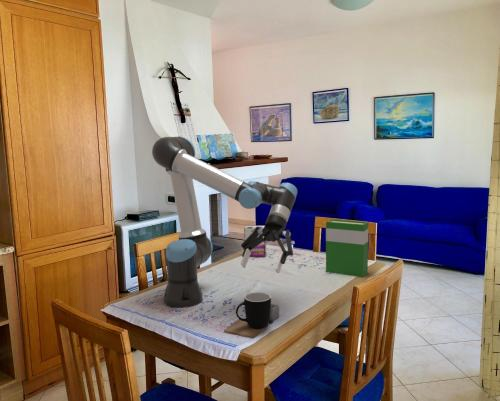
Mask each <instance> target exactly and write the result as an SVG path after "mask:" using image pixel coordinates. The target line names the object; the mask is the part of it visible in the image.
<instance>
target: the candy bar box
mask: <svg viewBox="0 0 500 401" xmlns="http://www.w3.org/2000/svg"><path fill="white" fill-rule="evenodd" d="M256 227H259V228H261V229H263V228H264V227H265V225H245V226H244V227H243V228H244V229H243V230H244V232H243V233H244V241H245V240H246V239H247V238H248V237H249V236H250V235H251V234H252V233H253V232H254V231H255V229H256ZM261 234H262V233H261ZM259 235H260V234H259ZM258 237H259V236H258ZM263 238H264V236H263ZM250 252H251V254H250V257H249V258H266V257H267V240H266V241H265V242H262V243H260V244H259V245H258V246H256V247H255V248H253V249H252V250H250Z"/></svg>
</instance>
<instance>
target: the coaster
mask: <svg viewBox="0 0 500 401" xmlns="http://www.w3.org/2000/svg"><path fill="white" fill-rule="evenodd" d="M268 326H269V324H268V325H267V327H268ZM267 327H265V328H263V329H253V328H251V327H249V325H248V323H247V322H245V321H241V320H240V319H238V318H237V320H235V321H234V322H233V323H231V324H230V325H229V326H227V328H225V329H224V330H223V332H224V333H226V334H227V333H228V334H232V335H236V336H241V337H244V338H250V339H254V338H256V337H257V336H258V335H260V333H261V332H262V331H264V330H265V329H266V328H267Z"/></svg>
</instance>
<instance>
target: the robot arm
mask: <svg viewBox="0 0 500 401" xmlns="http://www.w3.org/2000/svg"><path fill="white" fill-rule="evenodd" d="M151 155H152V158H153V160H154V161H155V163H156V164H157V165H159V166H160V167H162V168H164V169H165V172H166V173H167V174H168V175H170V180H171V183H172V191H173V195H174V201H175V205H176V211H177V212H176V213H177V216H178V221H179V222H178V223H179V225H180V226H179V228H180V233H179V235H178V237H177V238H178V239H177V240H173V241H172V242H170V243H168V245H166V248H165V250H166V252H165V258H166V261H165V262H166V275H167V283H166V286H165V287H166V288H165V290H164V295H163V302H164V305H167V306H168V307H171V308H188V307H192V306H196V305H199V304H200V303H201V302H202V301H203V298H204V297H203V291H202V290H201V287H200V284H199V282H198V267H199V266H201V265H202V264H204V263H206V262H207V261H208V260H209V258H210V257H211V256H212V253H213V250H214V249H213V243H212V240H211V239H210V238H209V237H208V236H207V232H206V230H205V229H203V228H202V224H201V219H200V218H201V217H200V213H199V212H200V211H199V206H198V201H197V196H196V192H195V186H194V181H193V180H195V181H197V182H199V183H201V184H202V185H205V186H207V187H208V188H211V189H213V190H214V191H217V192H218V193H221V194H223V195H225V196H226V197H229V198H230V199H233V200H234V201H236V202H238V203H239V204H240V205H241V207H243V208H244V209H247V210H248V209H249V210H251V209H254V208H257V207H258V206H260V205H261V204H266V205H269V206H271V208H270V211H269V214H268V216H267V218H266V221H265V223H264V226H265V227H264V228H263V229H261V228H259V227H256V229H255V231H254V232H253V233H252V234H251V235H250V236H249V237H248V238H247V239H246V240H245V239H244V241H243V242H242V243H241V244H240V246H241V248H242V249H243V252H242V255H241V257H242V259H241V262H240V265H241V266H242V268H244V269H246V266H247V264H248V261H249V259H250V258H251V257H250V254H251V252H250V250H252V249H253V248H255V247H256V246H258V245H259V244H260V243H262V242H265V241H266V242H272V243H275V242H277V244H278V245H279V246H278V247H279V248H280V250H281V252H280V254H279V255H278V256H279V257H278V258H277V261H276V265H275V268H274V270H275V271H276V273H277V274H280V272H281V270H282V269H281V268H282V266H283V265H285V264H286V261H287V258H288V256H289V257H290V256H291V257H292V256H294V251H293V245H292V241H291V237H292V233H291V232H290V229H286V226H287V225H288V221H289V218H290V216H291V212H292V209H293V206H294V204H295V202H296V198H297V195H298V188H297V187H296V186H295V185H294V184H292V183H290V182H282V183H280V185H279V186H274V185H271V184H266V183H263V182H259V181H255V180H250V181H248V182H246V181H243V180H242V179H240V178H238V177H235V176H234V175H232V174H229V173H227V172H225V171H223V170H221V169H219V168H217V167H215V166H213V165H211V164H208V163H207V162H205V161H203V160H201V159H199V158H196V157H195V156H196V149H195V146H194V144H193V142H191V140H189V138H187V137H183V136H164V137H160V138H158V139H157V140H156V141H155V142H154V144H153V145H152V150H151ZM261 233H262V234H261ZM259 234H260V235H259ZM258 236H259V237H258ZM263 236H264V238H263ZM283 236H284V238H285V242H286V247H285V246H284V244H283V242H282V240H281V238H282V237H283ZM286 248H287V250H286Z"/></svg>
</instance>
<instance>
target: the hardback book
mask: <svg viewBox="0 0 500 401" xmlns="http://www.w3.org/2000/svg"><path fill="white" fill-rule="evenodd" d="M368 265H369V221H361V220H349V219H347V220H346V219H338V218H337V219H336V218H335V219H334V218H331V219H330V221H326V222H325V272H326V273H330V274H336V275H337V274H338V275H343V276H344V275H346V276H351V277H360V278H364V277H365V276H366V275H367V274H368V273H369V272H368V271H369V268H368V267H369V266H368Z"/></svg>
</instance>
